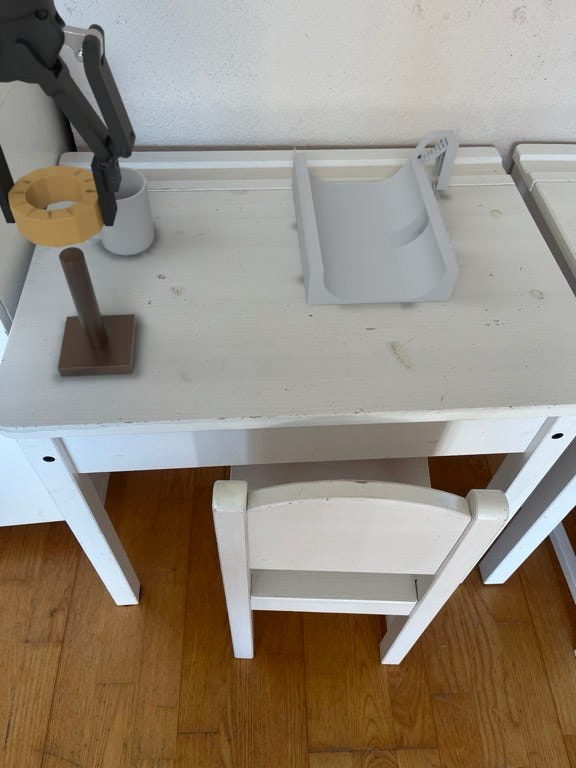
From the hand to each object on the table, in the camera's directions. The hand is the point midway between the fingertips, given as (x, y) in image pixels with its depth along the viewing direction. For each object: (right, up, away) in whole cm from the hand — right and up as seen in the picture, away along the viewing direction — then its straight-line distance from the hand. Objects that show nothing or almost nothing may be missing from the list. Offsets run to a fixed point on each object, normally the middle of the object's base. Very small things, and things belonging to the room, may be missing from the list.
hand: (63, 215), depth 60 cm
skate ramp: (+34, +4, +29) cm, 45 cm away
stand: (-1, -12, +14) cm, 19 cm away
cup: (-2, +3, +26) cm, 26 cm away
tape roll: (0, 0, 0) cm, 0 cm away
